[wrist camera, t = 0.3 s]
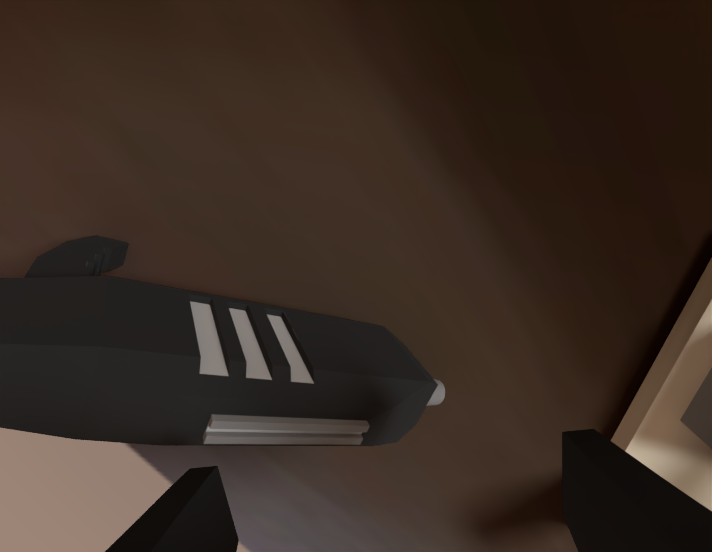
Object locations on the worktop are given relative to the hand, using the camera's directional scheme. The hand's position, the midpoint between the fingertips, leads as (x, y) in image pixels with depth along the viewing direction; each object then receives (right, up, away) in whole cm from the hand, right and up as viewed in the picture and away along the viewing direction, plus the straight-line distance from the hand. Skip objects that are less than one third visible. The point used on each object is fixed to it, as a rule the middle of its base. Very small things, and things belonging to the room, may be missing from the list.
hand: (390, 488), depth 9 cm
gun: (-4, +3, +10) cm, 11 cm away
